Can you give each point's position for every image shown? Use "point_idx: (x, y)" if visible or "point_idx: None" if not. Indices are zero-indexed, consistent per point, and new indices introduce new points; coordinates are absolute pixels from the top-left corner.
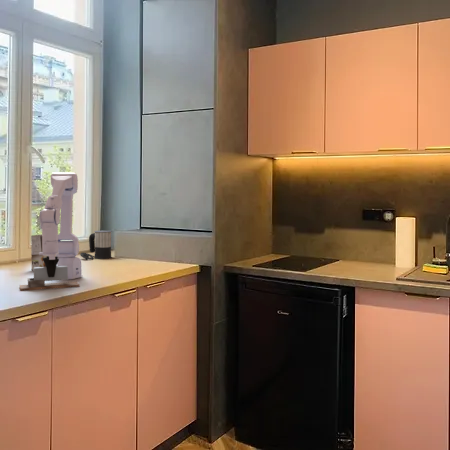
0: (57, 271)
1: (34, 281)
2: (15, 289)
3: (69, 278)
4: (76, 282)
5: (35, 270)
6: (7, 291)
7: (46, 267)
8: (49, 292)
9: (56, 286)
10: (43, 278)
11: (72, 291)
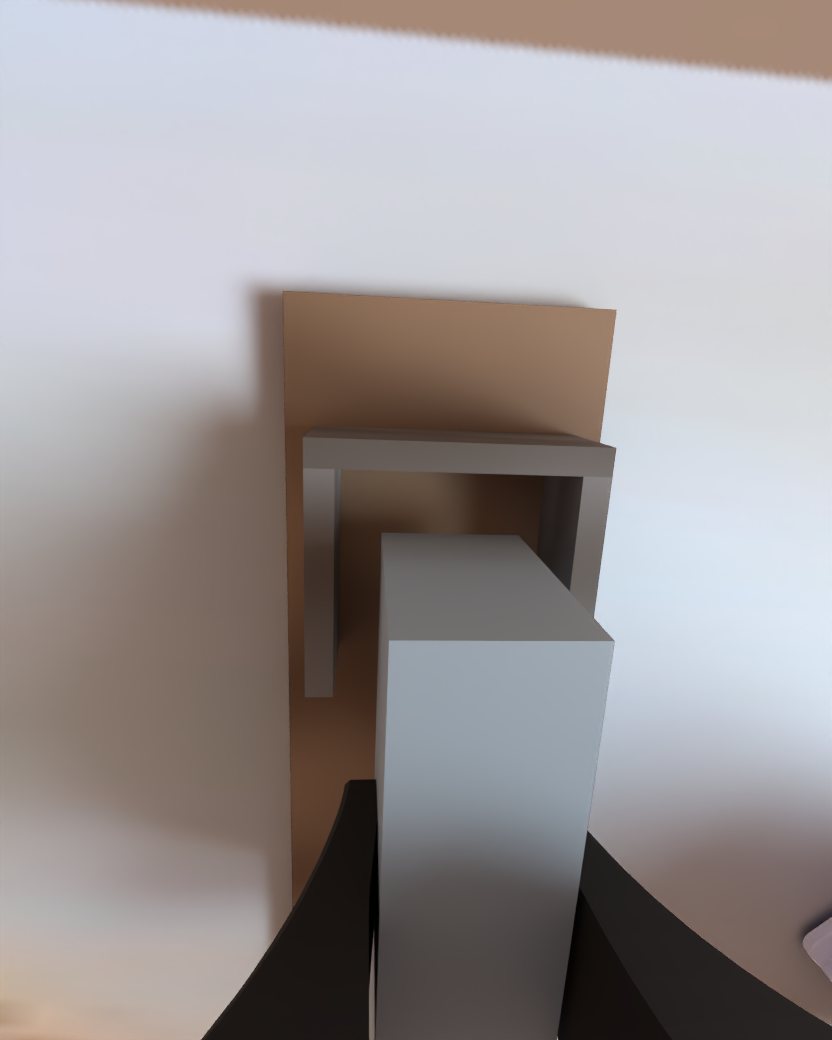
0: (373, 994)
1: (304, 534)
2: (447, 231)
3: (822, 935)
4: None
5: (385, 646)
6: (315, 80)
7: (290, 929)
8: (19, 660)
9: (292, 775)
10: (377, 694)
11: (10, 897)
